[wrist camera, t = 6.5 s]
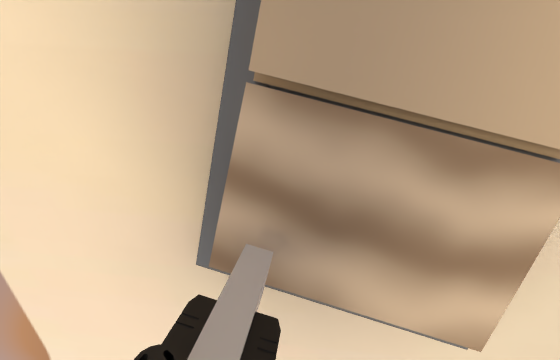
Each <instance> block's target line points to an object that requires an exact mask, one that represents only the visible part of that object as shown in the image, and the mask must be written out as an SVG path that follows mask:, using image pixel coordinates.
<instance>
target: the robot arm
mask: <svg viewBox="0 0 560 360" xmlns="http://www.w3.org/2000/svg"><path fill="white" fill-rule="evenodd" d="M272 256H273V252H272V251H269V250H266V249H262V248H259V247H256V246H252V245H249V244H246V245H245V247H244V249H243V251H242V253H241V255H240V257H239V259H238V261H237V263H236V265H235V267H234V269H233V271H232V273H231V275H230V277H229V279H228V280H227V282H226V284H225V286H224V288H223V290H222V292H221V294H220V296H219V298H218V300H214V299H211V298H208V297H205V296H202V295H198V296H196V297H195V298H193V299H192V300H191V301H189V302H188V304H187V305H186V307H185V308H184V310H183V312H182V314H181V315H180V316H179V318H178V319H177V321H176V323H175V324H174V326H173V327H172V329H171V330H170V332H169V333H168V335H167V336H166V338H165V340H164V341H163V343H162V344H161V345H155V346H150V347H148V348H147V349H145V350H143V351H141V352H140V353H139V354H138V356H137V357H136V358H135V359H134V360H275V359H276V353H277V348H278V343H279V337H280V332H281V330H280V326H279V322H278V319H277V318H274V317H271V316H267V315H264V314H261V313H258V312H257V309H258V306H259V303H260V300H261V296H262V293H263V290H264V286H265V282H266V278H267V275H268V271H269V267H270V263H271V260H272Z"/></svg>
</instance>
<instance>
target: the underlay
mask: <svg viewBox="0 0 560 360" xmlns="http://www.w3.org/2000/svg"><path fill="white" fill-rule="evenodd" d="M246 82H248V83H251V84H255V85H259V86H263V87H267V88H271V89H275V90H279V91H282V92H286V93H290V94H294V95H298V96H302V97H306V98H310V99H313V100H317V101H321V102H325V103H329V104H333V105H337V106H341V107H344V108H348V109H352V110H356V111H360V112H364V113H368V114H372V115H375V116H379V117H383V118H387V119H391V120H395V121H399V122H403V123H406V124H410V125H414V126H418V127H422V128H426V129H430V130H434V131H437V132H441V133H445V134H449V135H453V136H457V137H461V138H465V139H468V140H472V141H476V142H480V143H484V144H488V145H492V146H496V147H499V148H503V149H507V150H511V151H515V152H519V153H523V154H527V155H530V156H534V157H538V158H542V159H546V160H550V161H554V162H558V163H560V0H236V5H235V11H234V18H233V25H232V31H231V38H230V44H229V51H228V57H227V64H226V71H225V77H224V84H223V90H222V97H221V104H220V110H219V117H218V123H217V130H216V136H215V143H214V150H213V156H212V163H211V169H210V176H209V183H208V189H207V196H206V202H205V209H204V216H203V222H202V229H201V235H200V242H199V248H198V255H197V262H196V265H199V266H202V267H205V268H208V269H211V270H215V271H218V272H221V273H224V274H227V275H231V274H230V273H227V272H224V271H221V270H218V269H214V268H211V267H209V263H210V258H211V253H212V248H213V243H214V238H215V233H216V228H217V223H218V219H219V214H220V209H221V204H222V199H223V194H224V189H225V184H226V179H227V174H228V169H229V165H230V160H231V155H232V150H233V145H234V140H235V135H236V130H237V125H238V120H239V115H240V111H241V106H242V101H243V96H244V91H245V86H246ZM265 286H266V287H269V288H272V289H275V290H278V291H282V292H285V293H288V294H291V295H294V296H297V297H301V298H304V299H307V300H310V301H313V302H317V303H320V304H323V305H326V306H329V307H333V308H336V309H339V310H342V311H345V312H348V313H352V314H355V315H358V316H361V317H364V318H368V319H371V320H374V321H377V322H380V323H384V324H387V325H390V326H393V327H396V328H399V329H403V330H406V331H409V332H412V333H415V334H419V335H422V336H425V337H428V338H431V339H435V340H438V341H441V342H444V343H447V344H450V345H454V346H457V347H460V348H463V349H466V350H467V349H468V348H467V347H463V346H460V345H457V344H454V343H451V342H447V341H444V340H441V339H438V338H435V337H432V336H428V335H425V334H422V333H419V332H416V331H412V330H409V329H406V328H403V327H400V326H396V325H393V324H390V323H387V322H384V321H380V320H377V319H374V318H371V317H368V316H364V315H361V314H358V313H355V312H352V311H349V310H345V309H342V308H339V307H336V306H333V305H329V304H326V303H323V302H320V301H317V300H313V299H310V298H307V297H304V296H301V295H297V294H294V293H291V292H288V291H285V290H281V289H278V288H275V287H272V286H269V285H265Z"/></svg>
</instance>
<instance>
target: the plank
mask: <svg viewBox="0 0 560 360" xmlns="http://www.w3.org/2000/svg"><path fill="white" fill-rule="evenodd" d="M559 218H560V163H558V162H554V161H550V160H546V159H542V158H538V157H534V156H530V155H527V154H523V153H519V152H515V151H511V150H507V149H503V148H499V147H496V146H492V145H488V144H484V143H480V142H476V141H472V140H468V139H465V138H461V137H457V136H453V135H449V134H445V133H441V132H437V131H434V130H430V129H426V128H422V127H418V126H414V125H410V124H406V123H403V122H399V121H395V120H391V119H387V118H383V117H379V116H375V115H372V114H368V113H364V112H360V111H356V110H352V109H348V108H344V107H341V106H337V105H333V104H329V103H325V102H321V101H317V100H313V99H310V98H306V97H302V96H298V95H294V94H290V93H286V92H282V91H279V90H275V89H271V88H267V87H263V86H259V85H255V84H251V83H248V82H246V86H245V91H244V96H243V101H242V106H241V111H240V115H239V120H238V125H237V130H236V135H235V140H234V145H233V150H232V155H231V160H230V165H229V169H228V174H227V179H226V184H225V189H224V194H223V199H222V204H221V209H220V214H219V219H218V223H217V228H216V233H215V238H214V243H213V248H212V253H211V258H210V263H209V267H211V268H214V269H218V270H221V271H224V272H227V273H230V274H231V273H232V271H233V269H234V267H235V265H236V263H237V261H238V259H239V257H240V255H241V253H242V251H243V249H244V247H245V245H246V244H249V245H252V246H256V247H259V248H262V249H266V250H269V251H272V252H273V256H272V260H271V263H270V267H269V271H268V275H267V278H266V282H265V285H269V286H272V287H275V288H278V289H281V290H285V291H288V292H291V293H294V294H297V295H301V296H304V297H307V298H310V299H313V300H317V301H320V302H323V303H326V304H329V305H333V306H336V307H339V308H342V309H345V310H349V311H352V312H355V313H358V314H361V315H364V316H368V317H371V318H374V319H377V320H380V321H384V322H387V323H390V324H393V325H396V326H400V327H403V328H406V329H409V330H412V331H416V332H419V333H422V334H425V335H428V336H432V337H435V338H438V339H441V340H444V341H447V342H451V343H454V344H457V345H460V346H463V347H467V348H470V349H473V350H476V351H479V352H481V351H482V349H483V348H484V346H485V344H486V343H487V341H488V339H489V338H490V336H491V334H492V332H493V331H494V329H495V327H496V326H497V324H498V322H499V320H500V319H501V317H502V315H503V314H504V312H505V310H506V309H507V307H508V305H509V303H510V302H511V300H512V298H513V297H514V295H515V293H516V291H517V290H518V288H519V286H520V285H521V283H522V281H523V280H524V278H525V276H526V274H527V273H528V271H529V269H530V268H531V266H532V264H533V262H534V261H535V259H536V257H537V256H538V254H539V252H540V251H541V249H542V247H543V245H544V244H545V242H546V240H547V239H548V237H549V235H550V234H551V232H552V230H553V228H554V227H555V225H556V223H557V222H558V220H559Z"/></svg>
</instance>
